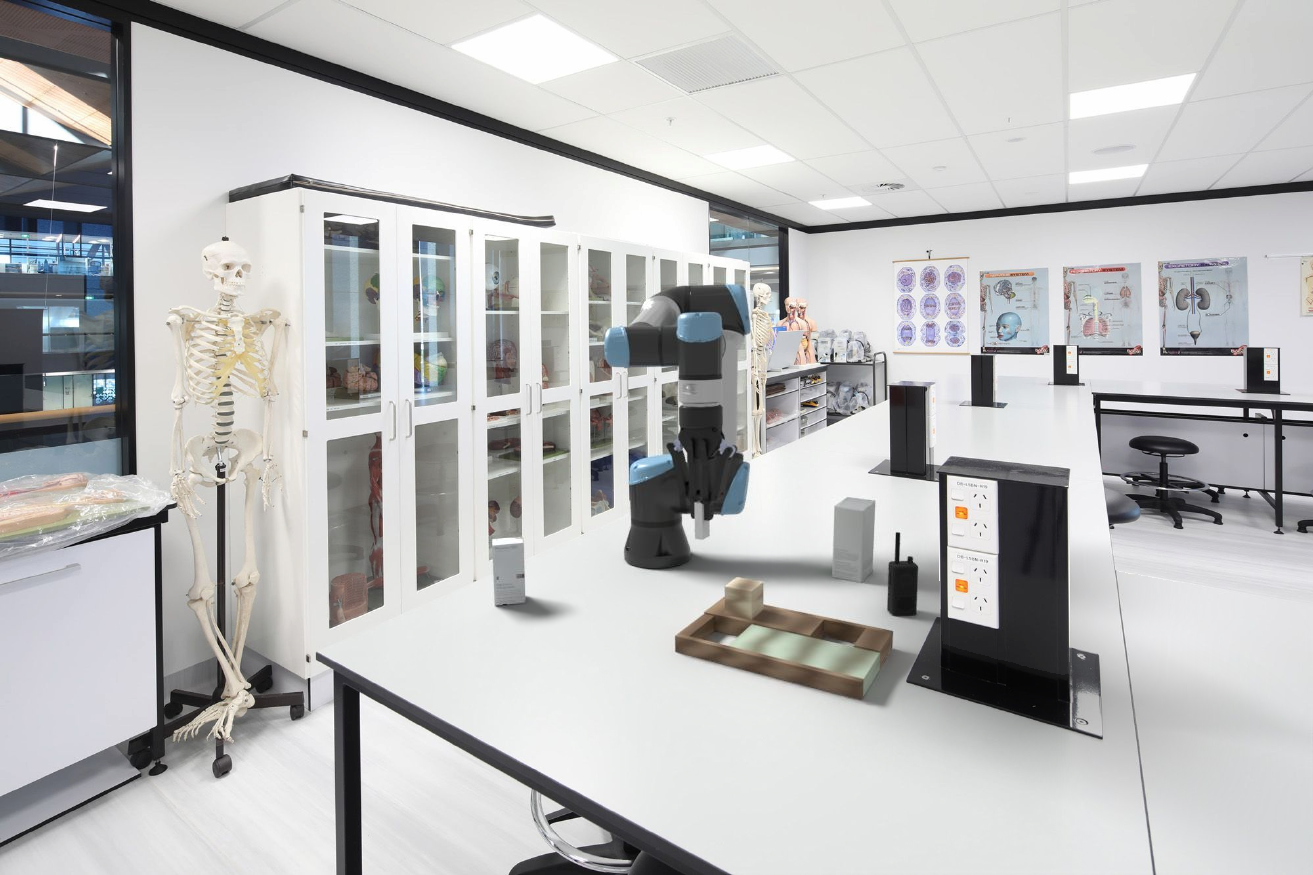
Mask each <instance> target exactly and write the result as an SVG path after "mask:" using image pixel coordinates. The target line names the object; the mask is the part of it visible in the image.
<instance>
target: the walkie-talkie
mask: <svg viewBox="0 0 1313 875" xmlns="http://www.w3.org/2000/svg"><path fill="white" fill-rule="evenodd" d="M894 540H895V542H894V560H892V561H889V562H888V569H887V571H888V572H887V574H888V575H887V602H886V603H887V605H886V610H887V612H888V613H889V614H890V615H891V616H894V617H901V616H903V617H904V616H905V617H906V616H916V615H917V612H918V611H917V610H918V609H917V608H918V588H919V587H918V586H919V584H918V583H919V582H918V581H919V580H918V579H919V566H918V564H917V563H915V562H914V556H912V555H909V556H907V560H900V556H901V554H900V553H901V532H898V531H897V532H895V539H894Z"/></svg>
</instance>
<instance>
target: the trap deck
mask: <svg viewBox="0 0 1313 875" xmlns="http://www.w3.org/2000/svg"><path fill="white" fill-rule="evenodd" d="M714 632H718V633H722V634H725V635H731V636H734V637H735V636H736V638H735V639H734V640H732V642H730V643H729V644H728V645H726V644H721V643H717V642H715V641H710V640H706V639H707V638H708V637H709V636H711V634H712V633H714ZM824 637H826V638H831V639H834V640H838V641H839V640H840V641H844V642H849V643H853V646H852V645H847V644H842V643H838V642H833V641H829V640H824V639H823V638H824ZM893 642H894V630H890V629H885V628H882V627H881V628H880V627H877V626H871V625H866V624H861V623H857V622H851V621H846V620H842V619H838V618H832V617H829V616H828V617H827V616H821V615H817V614H812V613H808V612H804V611H798V610H793V609H787V608H783V607H777V606H774V605H769V604H768V605H767V604H764V603H763V610H762V611H761V612H760V613H759V614H758V615H756V616H755V617H754V618H753V619H752V620H750V619H746V618H741V617H737V616H732V615H727V614H725V596H724V597H722V598H720V599H719V600H717V602H715V603H714V604H712V606H710V607H708V608H707V609H706V610H704V611H703V614H702V615H700V616H699V617H698V618H697V619H695V620H694V621H692V622H691V623H690V624H688V625H687V626H686V627H685V628H683V629H682V630H681V631H680V632H678V633H677V634H676V635H675V636H674V647H675V648H674V652H676V653H678V654H679V653H680V654H683V655H687V656H691V657H694V658H698V659H703V660H705V661H709V662H714V663H719V664H722V665H725V666H729V667H732V668H736V669H741V670H744V671H749V672H752V673H755V674H758V675H759V674H760V675H764V676H768V677H772V678H775V679H779V680H783V681H787V682H791V683H793V684H794V683H795V684H798V685H802V686H805V687H808V688H813V689H818V690H820V691H824V692H828V693H832V694H836V695H839V694H840V695H841V696H843V697H847V696H848V698H851V699H855V700H859V701H862V699H863V698H864V697H865V695H866V693H867V691H868V689H869V688H870V686H871V685H872V683H873V682H874V680H875V678H876V677H877V675H878V673H879V671H880V669H882V666H883V665H884V663H885V661H886V659H887V658H888V657H889V655H890V653H891V652H892V650H893Z"/></svg>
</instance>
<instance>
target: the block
mask: <svg viewBox="0 0 1313 875" xmlns="http://www.w3.org/2000/svg"><path fill="white" fill-rule="evenodd" d="M724 597H725V614H727V615H732V616H737V617H741V618H746V619H750V620H752V619H753V618H754V617H755V616H756V615H758V614H759V613H760V612H761V611H762V610H763V604H764V581H761V580H754V579H751V578H744V577H738V576H736V577H735V578H734V579H733V580H731V581H730V582H728V583H726V584H725V585H724Z"/></svg>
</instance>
